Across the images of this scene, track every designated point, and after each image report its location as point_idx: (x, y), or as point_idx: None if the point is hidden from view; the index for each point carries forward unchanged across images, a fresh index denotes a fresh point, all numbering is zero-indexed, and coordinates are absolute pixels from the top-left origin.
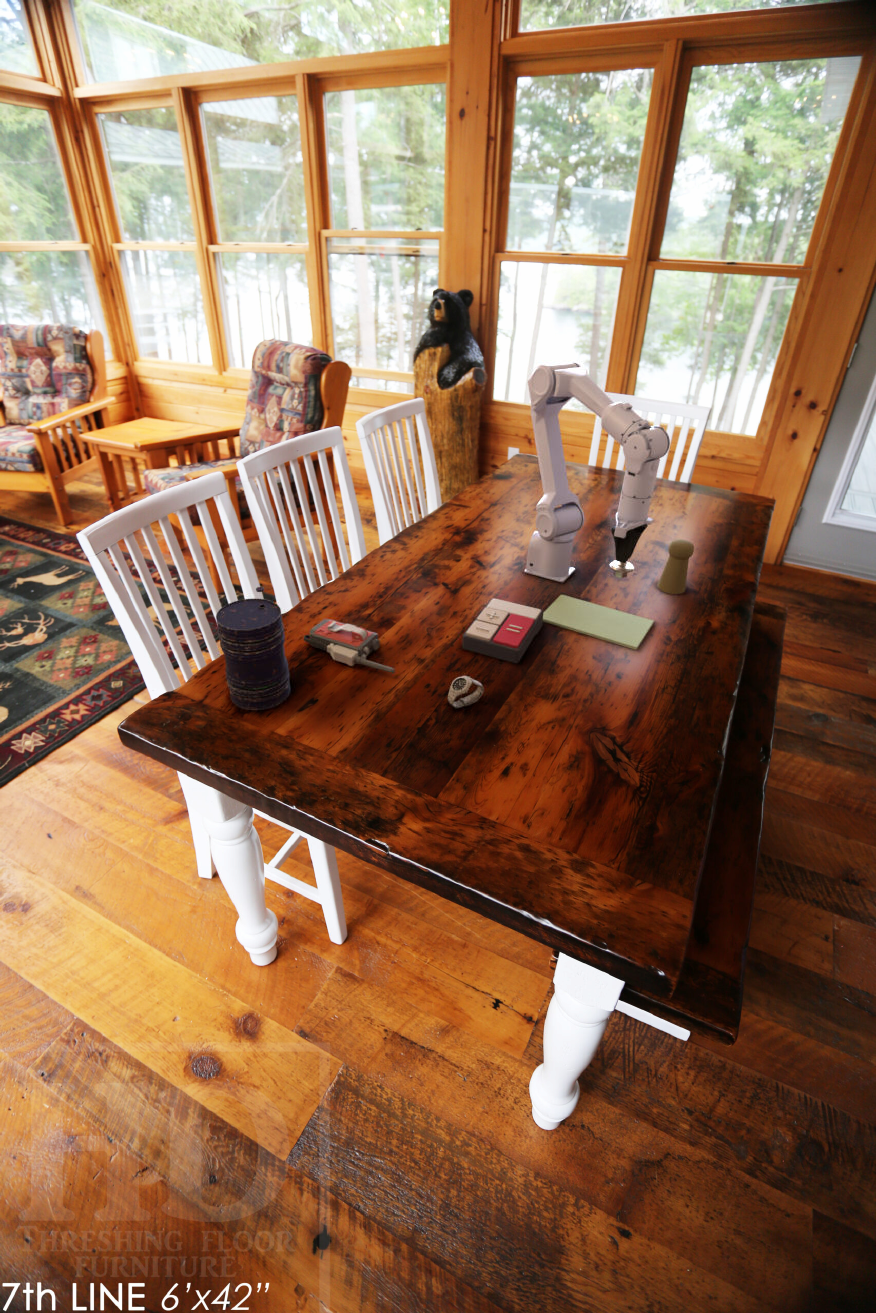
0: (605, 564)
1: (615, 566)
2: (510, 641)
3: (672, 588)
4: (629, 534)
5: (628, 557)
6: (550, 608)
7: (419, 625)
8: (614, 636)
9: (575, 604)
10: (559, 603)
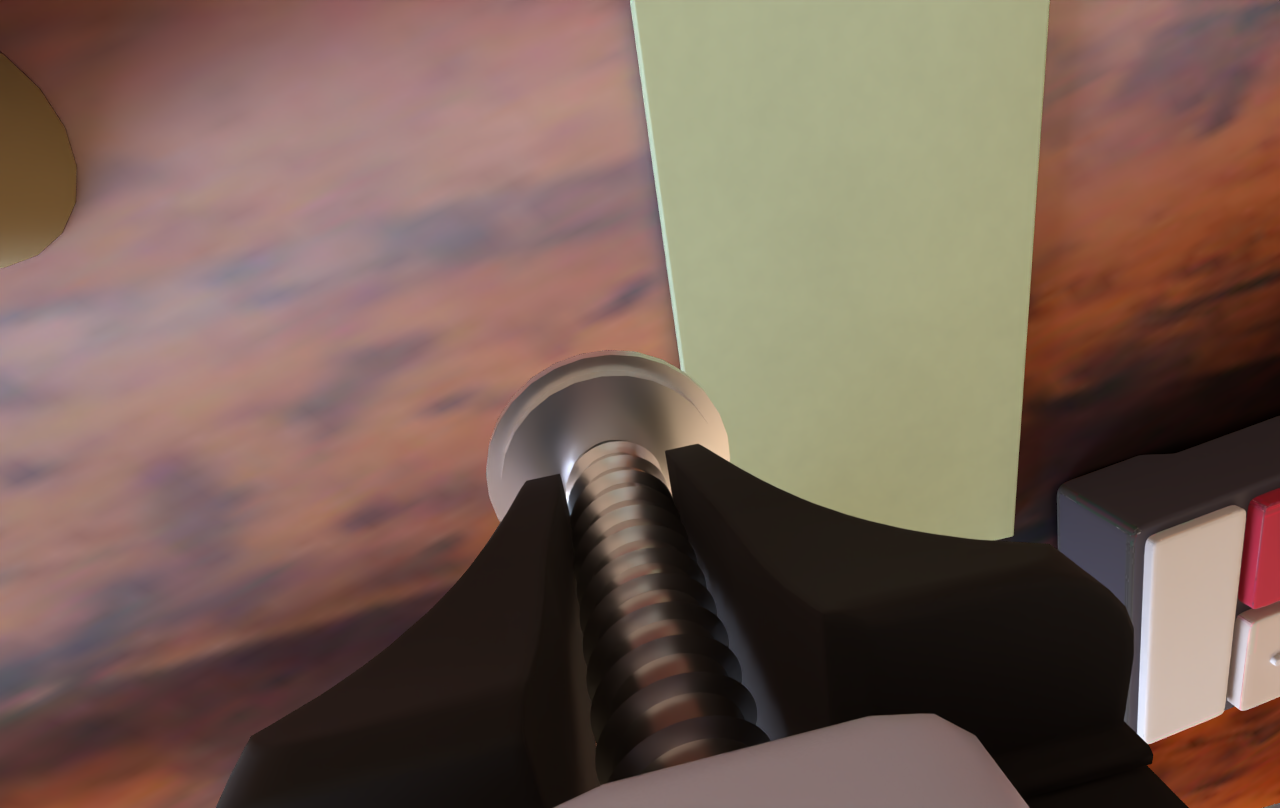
0: (94, 670)
1: None
2: None
3: (8, 100)
4: (1124, 726)
5: (722, 460)
6: None
7: (1252, 768)
8: (995, 126)
9: None
10: None
